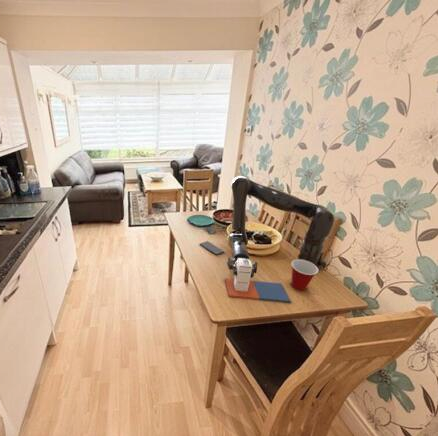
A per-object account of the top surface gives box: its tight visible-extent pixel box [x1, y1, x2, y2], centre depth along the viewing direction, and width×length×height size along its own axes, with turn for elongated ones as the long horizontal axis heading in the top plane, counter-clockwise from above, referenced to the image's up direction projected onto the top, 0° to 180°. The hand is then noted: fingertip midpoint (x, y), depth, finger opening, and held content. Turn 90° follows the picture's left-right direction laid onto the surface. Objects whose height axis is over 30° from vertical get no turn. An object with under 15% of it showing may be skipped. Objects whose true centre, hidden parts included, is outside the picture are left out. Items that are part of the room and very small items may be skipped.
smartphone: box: [199, 240, 225, 256], centre depth 147 cm, size 7×1×15 cm
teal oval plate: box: [186, 214, 227, 234], centre depth 178 cm, size 20×30×2 cm, turn 22°
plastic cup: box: [290, 258, 319, 291], centre depth 112 cm, size 11×11×12 cm
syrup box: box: [234, 258, 253, 292], centre depth 110 cm, size 6×6×14 cm
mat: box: [224, 278, 292, 304], centre depth 112 cm, size 26×12×1 cm, turn 81°
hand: (243, 274), depth 107 cm, fingers closed on syrup box, 6 cm apart
